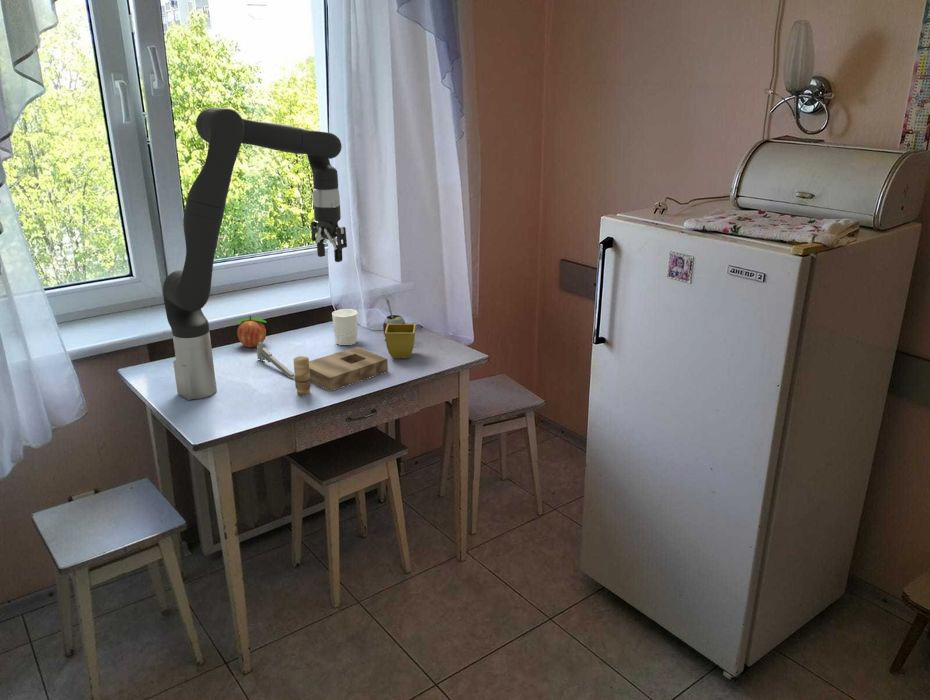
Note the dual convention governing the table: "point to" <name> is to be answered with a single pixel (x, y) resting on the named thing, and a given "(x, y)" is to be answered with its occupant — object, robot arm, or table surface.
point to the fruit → (251, 331)
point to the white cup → (345, 326)
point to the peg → (302, 375)
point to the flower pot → (400, 339)
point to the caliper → (272, 359)
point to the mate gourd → (392, 318)
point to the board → (346, 368)
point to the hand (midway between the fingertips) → (330, 259)
